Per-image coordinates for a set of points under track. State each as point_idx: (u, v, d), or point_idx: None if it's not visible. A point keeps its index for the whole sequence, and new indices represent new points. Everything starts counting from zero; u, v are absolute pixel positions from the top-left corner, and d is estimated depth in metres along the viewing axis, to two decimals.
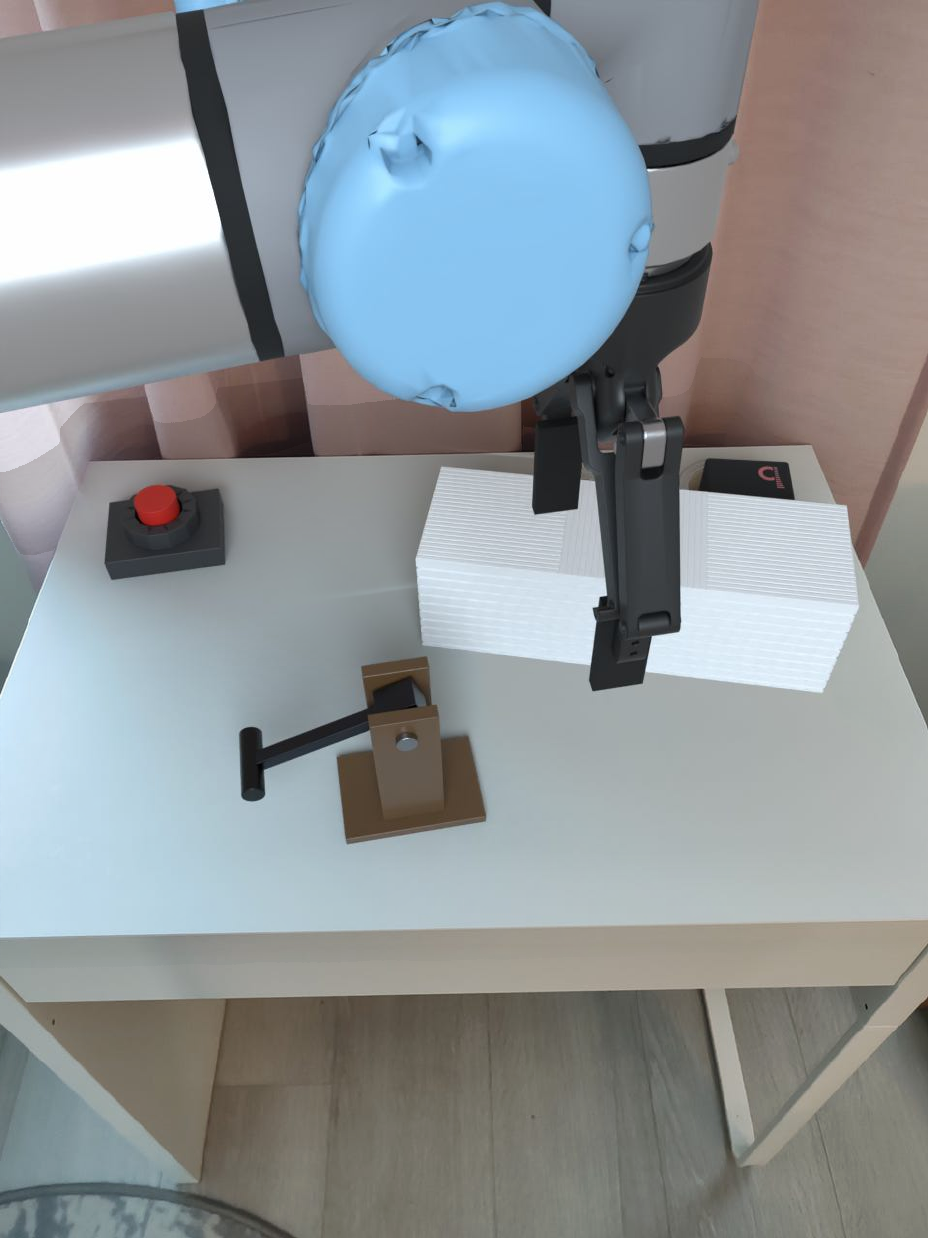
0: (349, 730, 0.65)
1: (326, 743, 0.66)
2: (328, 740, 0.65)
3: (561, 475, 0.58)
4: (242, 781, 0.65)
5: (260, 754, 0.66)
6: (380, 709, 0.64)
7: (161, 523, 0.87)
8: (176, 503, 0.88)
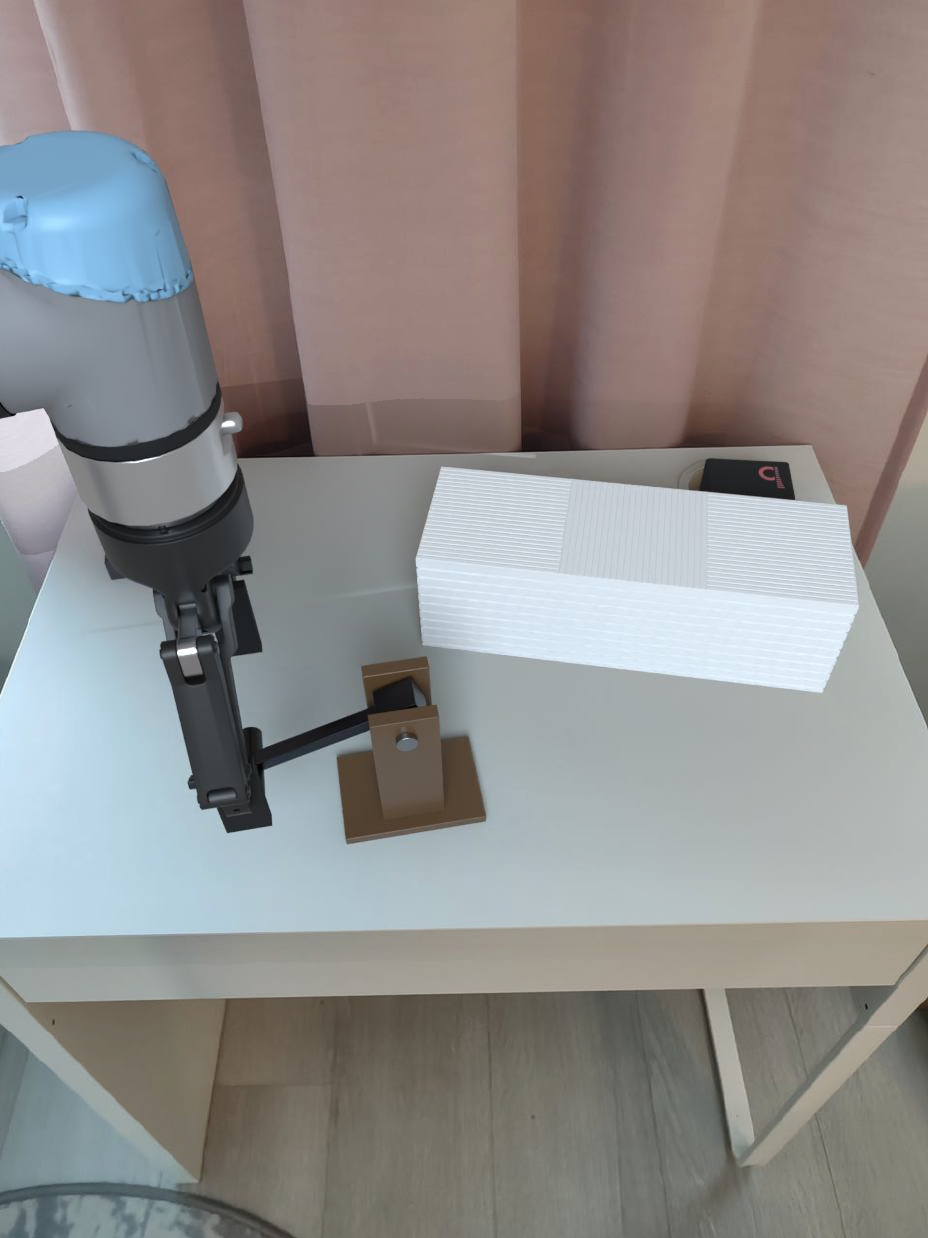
0: (349, 730, 0.65)
1: (326, 743, 0.66)
2: (328, 740, 0.65)
3: (236, 627, 0.66)
4: None
5: (260, 754, 0.66)
6: (380, 709, 0.64)
7: None
8: None
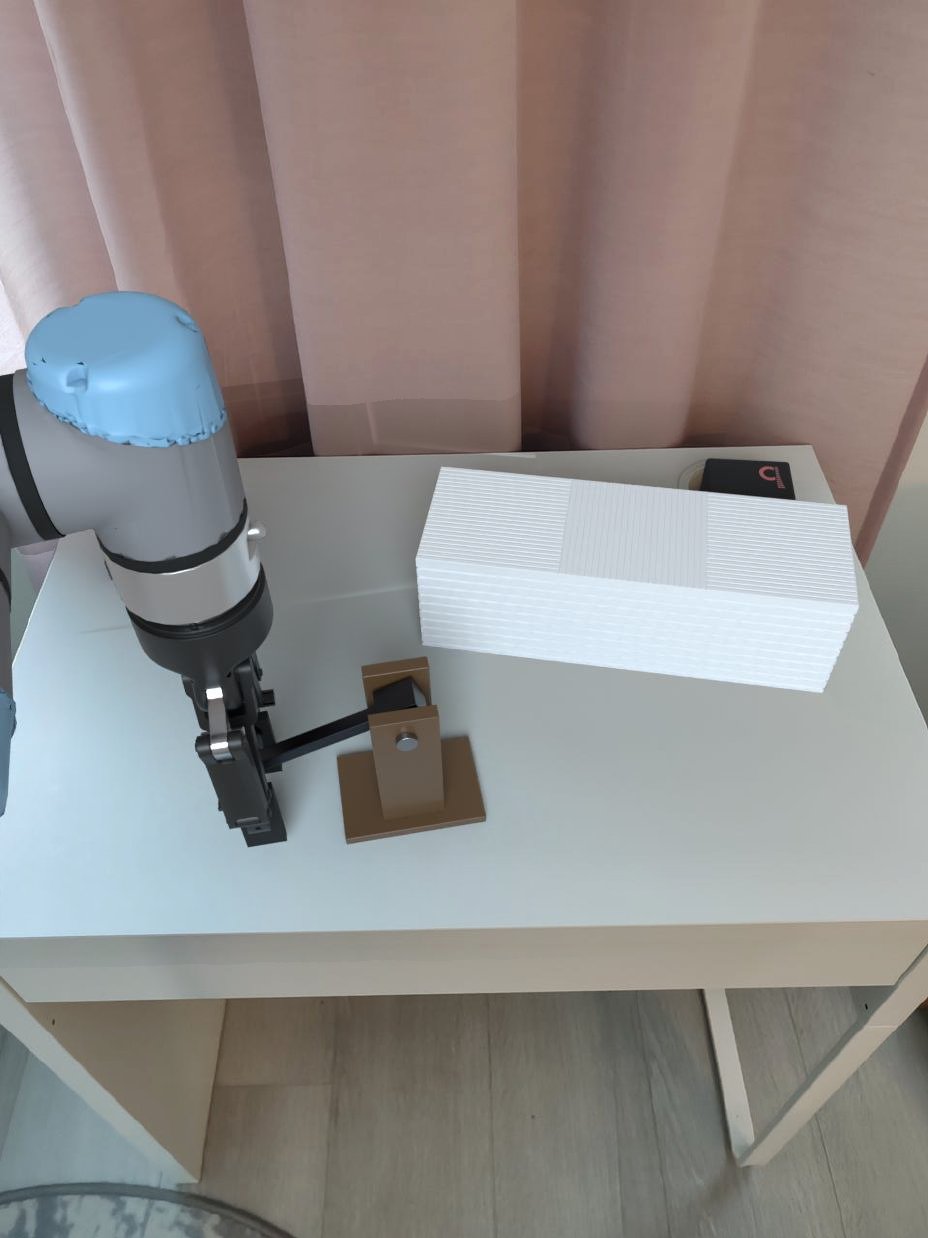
0: (349, 730, 0.65)
1: (326, 743, 0.66)
2: (328, 740, 0.65)
3: None
4: None
5: None
6: (380, 709, 0.64)
7: None
8: None
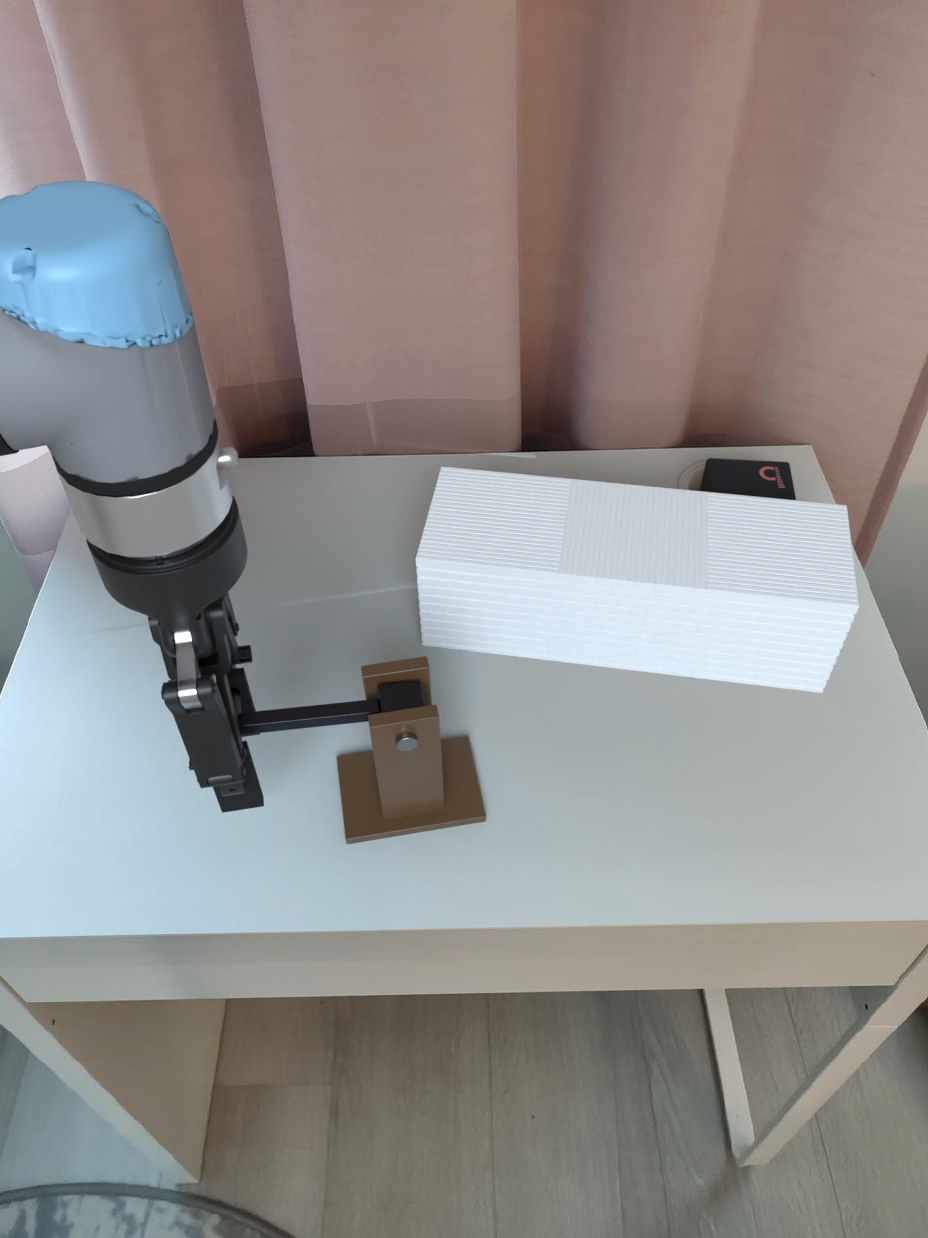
0: (345, 716, 0.64)
1: (316, 723, 0.64)
2: (320, 721, 0.64)
3: None
4: None
5: (243, 718, 0.63)
6: (386, 703, 0.64)
7: None
8: None
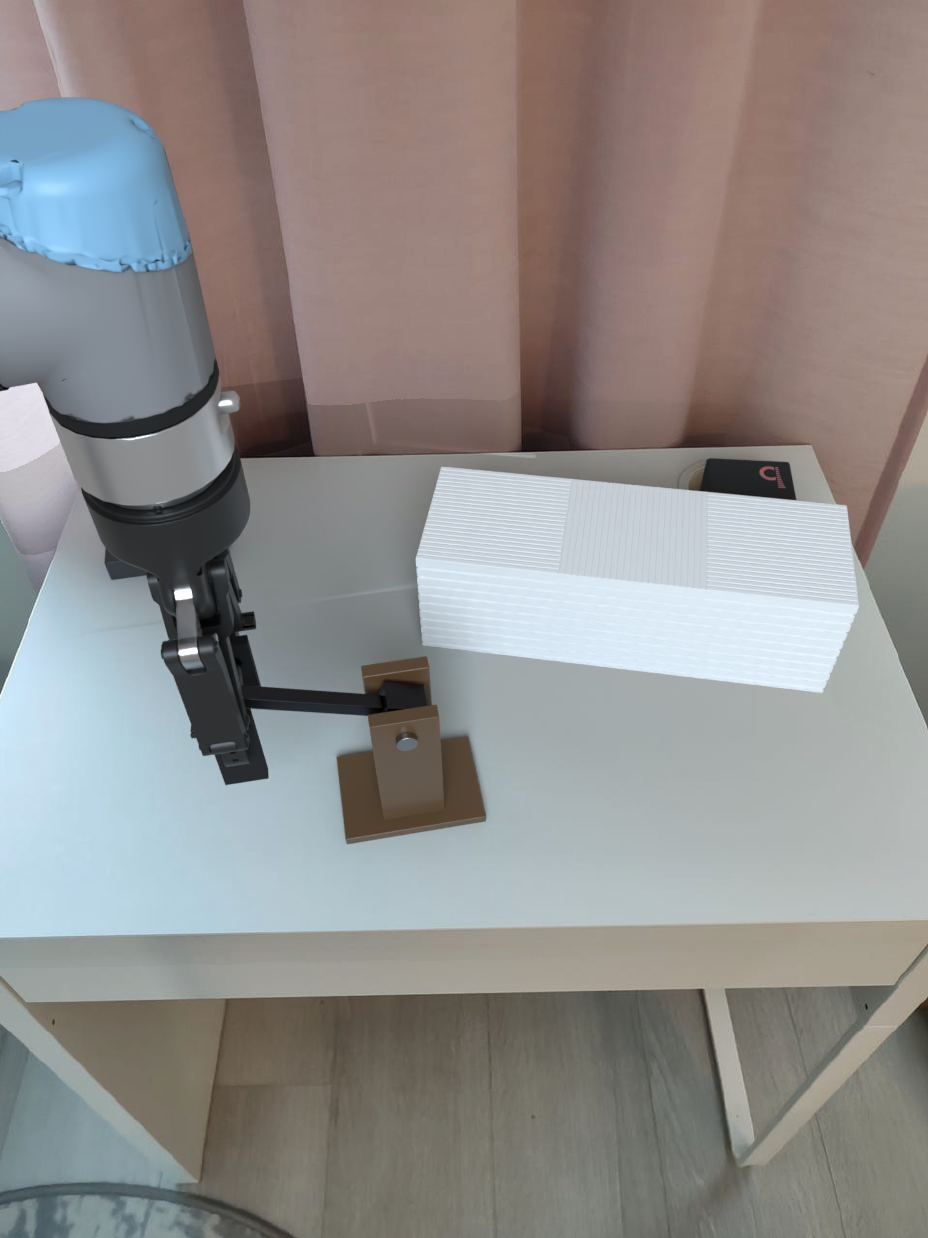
0: (348, 707, 0.63)
1: (318, 709, 0.63)
2: (323, 707, 0.63)
3: None
4: None
5: (247, 691, 0.61)
6: (392, 701, 0.64)
7: None
8: None
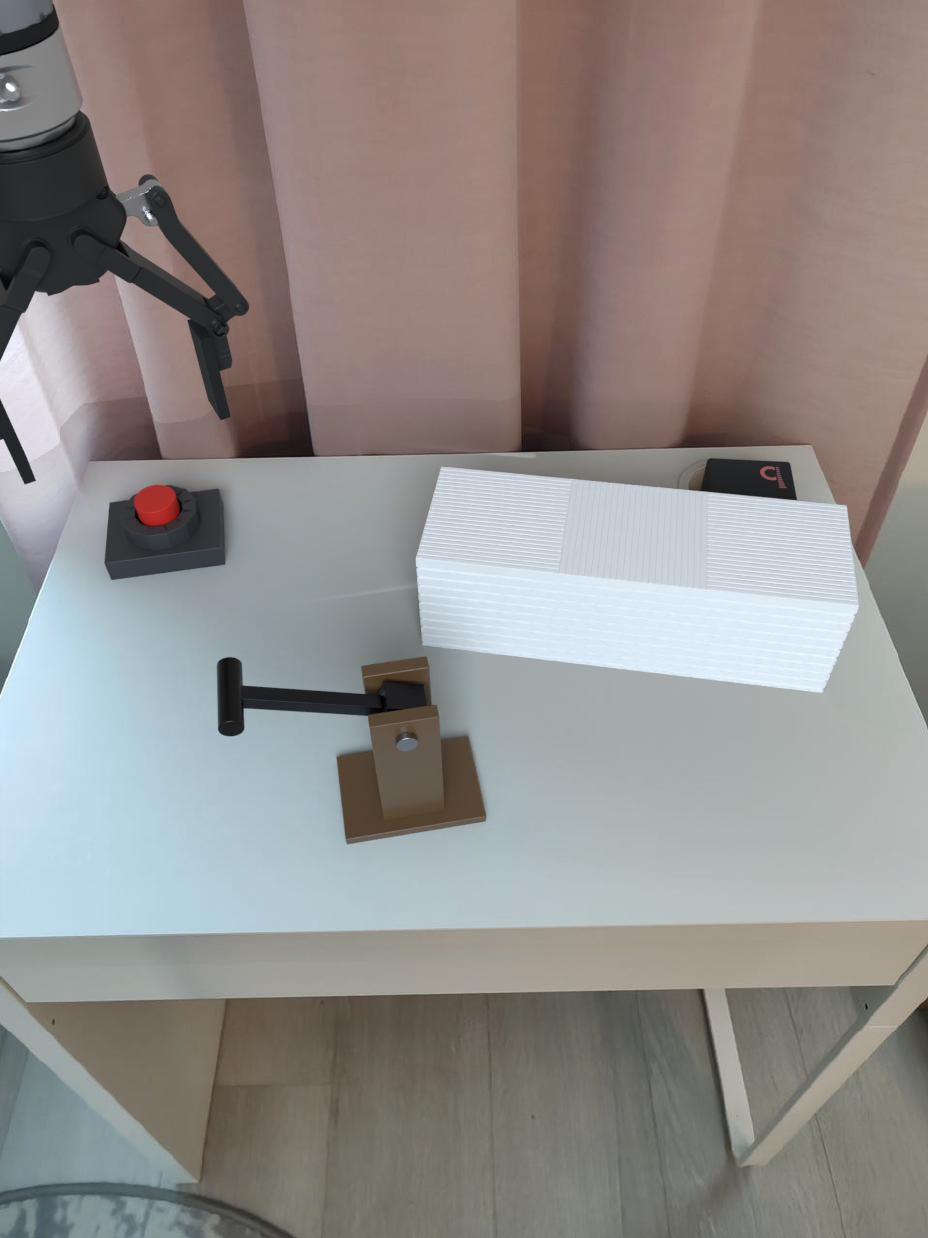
0: (348, 707, 0.63)
1: (318, 709, 0.63)
2: (323, 707, 0.63)
3: (206, 377, 0.68)
4: (226, 710, 0.59)
5: (247, 691, 0.61)
6: (392, 701, 0.64)
7: (161, 523, 0.87)
8: (176, 503, 0.88)
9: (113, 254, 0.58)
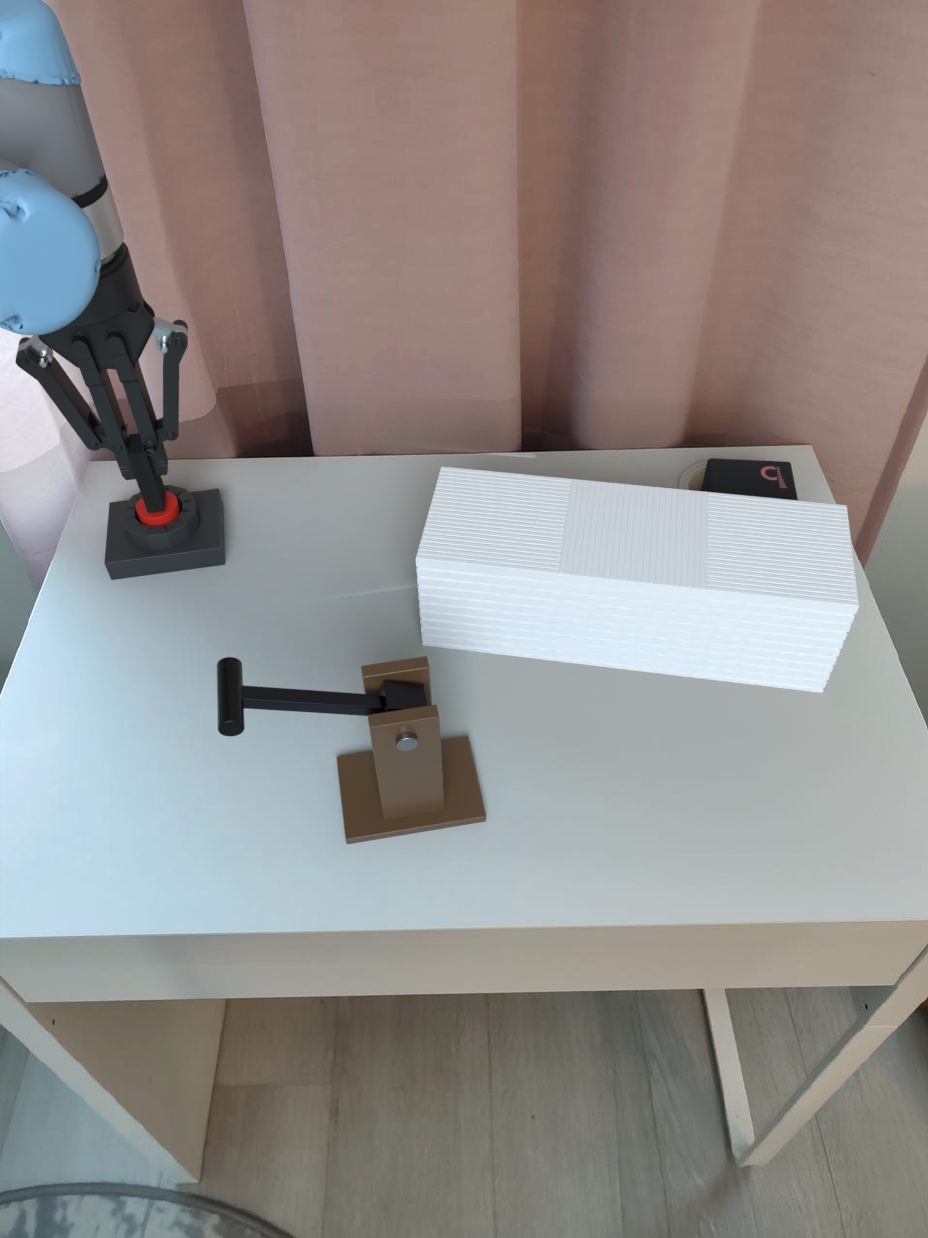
0: (348, 707, 0.63)
1: (318, 709, 0.63)
2: (323, 707, 0.63)
3: None
4: (226, 710, 0.59)
5: (247, 691, 0.61)
6: (392, 701, 0.64)
7: None
8: (178, 509, 0.88)
9: (126, 361, 0.75)
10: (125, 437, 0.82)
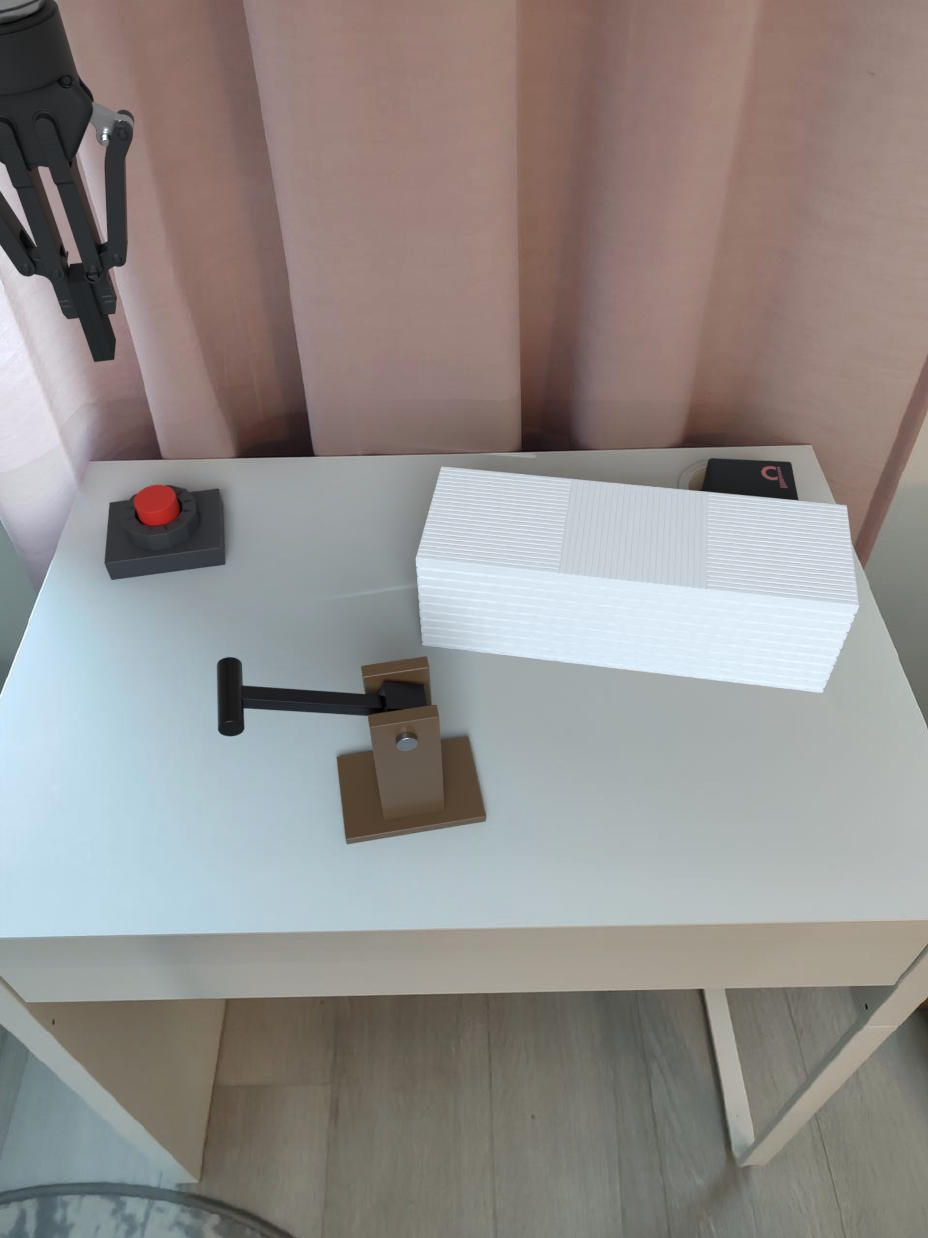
0: (348, 707, 0.63)
1: (318, 709, 0.63)
2: (323, 707, 0.63)
3: None
4: (226, 710, 0.59)
5: (247, 691, 0.61)
6: (392, 701, 0.64)
7: (161, 523, 0.87)
8: (176, 503, 0.88)
9: (60, 154, 0.63)
10: (64, 263, 0.70)
